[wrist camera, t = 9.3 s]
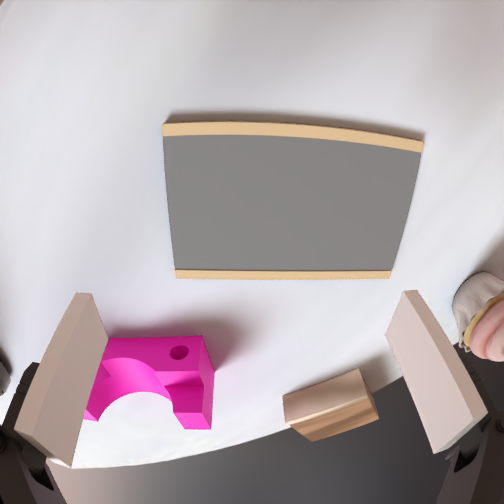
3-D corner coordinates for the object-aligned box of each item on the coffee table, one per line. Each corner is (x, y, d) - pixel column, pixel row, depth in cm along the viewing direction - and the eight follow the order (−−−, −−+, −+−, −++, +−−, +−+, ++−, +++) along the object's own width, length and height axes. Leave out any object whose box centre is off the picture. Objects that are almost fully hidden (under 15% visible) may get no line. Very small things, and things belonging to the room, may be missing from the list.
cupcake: (495, 242, 24) (551, 303, 15) (503, 291, 28) (543, 346, 19) (431, 294, 27) (475, 368, 18) (448, 334, 31) (481, 396, 22)
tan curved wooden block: (379, 418, 34) (366, 395, 29) (311, 441, 36) (285, 422, 32) (372, 395, 37) (358, 367, 33) (307, 418, 40) (282, 394, 35)
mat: (177, 273, 24) (175, 278, 24) (164, 122, 18) (161, 124, 17) (386, 273, 25) (389, 278, 25) (419, 140, 19) (423, 142, 18)
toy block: (202, 334, 29) (194, 399, 22) (214, 370, 32) (211, 429, 26) (77, 336, 29) (54, 388, 23) (99, 369, 33) (83, 419, 26)
